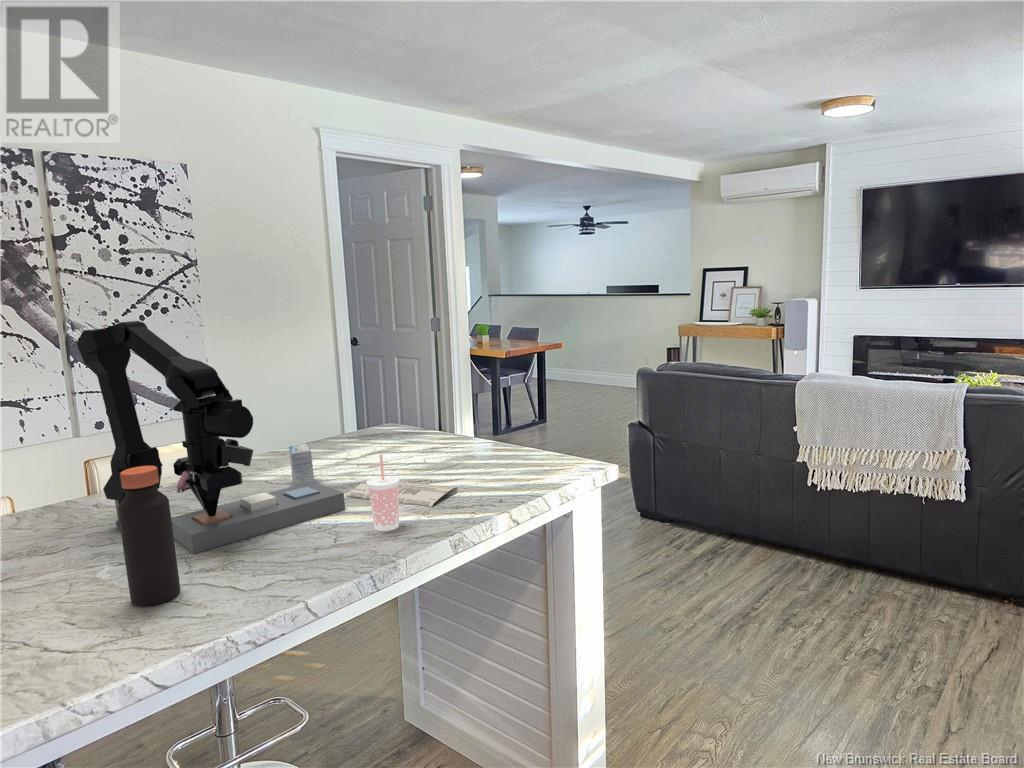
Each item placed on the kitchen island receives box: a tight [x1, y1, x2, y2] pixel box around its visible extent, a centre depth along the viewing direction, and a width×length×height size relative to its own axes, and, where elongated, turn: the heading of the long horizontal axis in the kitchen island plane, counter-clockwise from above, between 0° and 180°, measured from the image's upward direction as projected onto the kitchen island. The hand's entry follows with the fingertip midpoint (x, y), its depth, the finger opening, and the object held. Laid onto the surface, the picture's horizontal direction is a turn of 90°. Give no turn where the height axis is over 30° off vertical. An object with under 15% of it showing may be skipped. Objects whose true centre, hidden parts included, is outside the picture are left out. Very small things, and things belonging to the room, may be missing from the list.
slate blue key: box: [285, 487, 319, 500], centre depth 142 cm, size 5×5×3 cm
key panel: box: [171, 480, 346, 555], centre depth 137 cm, size 30×13×4 cm, turn 133°
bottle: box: [118, 466, 181, 607], centre depth 104 cm, size 7×7×20 cm
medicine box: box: [288, 443, 315, 486], centre depth 161 cm, size 8×4×9 cm, turn 22°
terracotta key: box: [194, 509, 231, 525], centre depth 130 cm, size 5×5×3 cm
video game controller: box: [176, 467, 222, 492], centre depth 162 cm, size 10×5×7 cm, turn 85°
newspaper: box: [345, 477, 458, 508], centre depth 151 cm, size 23×12×2 cm, turn 65°
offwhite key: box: [240, 491, 277, 512], centre depth 136 cm, size 5×5×3 cm
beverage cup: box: [366, 454, 400, 532], centre depth 130 cm, size 6×6×14 cm
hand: (211, 515), depth 130 cm, fingers closed, pressing on terracotta key
